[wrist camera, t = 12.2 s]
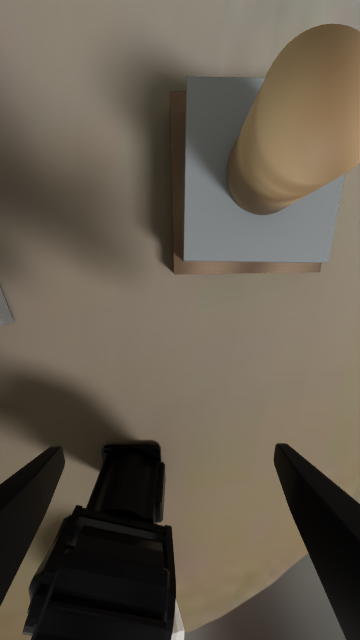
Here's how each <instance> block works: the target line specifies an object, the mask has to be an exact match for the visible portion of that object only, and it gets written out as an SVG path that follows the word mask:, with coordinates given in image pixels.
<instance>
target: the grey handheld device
mask: <svg viewBox="0 0 360 640" xmlns="http://www.w3.org/2000/svg"><path fill="white" fill-rule="evenodd" d="M13 322H14V320H13V317H12V315H11V312H10V310H9V308H8V305H7V303H6V300H5V298H4V295H3V293H2V290H1V288H0V326H3V325H7V324H10V323H13Z"/></svg>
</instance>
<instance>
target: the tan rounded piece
mask: <svg viewBox="0 0 360 640" xmlns="http://www.w3.org/2000/svg"><path fill="white" fill-rule="evenodd" d="M359 162H360V32H359V31H358V30H356V29H354V28H351V27H349V26H345V25H341V24H326V25H320V26H317V27H314V28H311V29H309V30H307V31H305V32H303V33H301V34H300V35H298V36H297V37H295V38H294V39H293V40H292V41H291V42H290V43H288V44H287V45H286V46H285V48H284V49H283V50H282V51H281V52H280V53H279V55H278V56H277V58H276V59H275V60H274V62H273V64H272V66H271V67H270V69H269V71H268V73H267V75H266V78H265V80H264V82H263V84H262V86H261V88H260V90H259V92H258V94H257V97H256V99H255V101H254V103H253V105H252V107H251V109H250V111H249V114H248V116H247V118H246V120H245V122H244V124H243V126H242V128H241V131H240V133H239V135H238V137H237V139H236V141H235V143H234V145H233V147H232V150H231V152H230V154H229V158H228V161H227V167H226V179H227V185H228V188H229V191H230V193H231V196H232V197H233V199H234V200H235V202H236V203H237V204H238V205H239V206H240V207H241V208H243V209H244V210H245V211H248V212H250V213H252V214H256V215H269V214H273V213H276V212H278V211H280V210H282V209H284V208H286V207H287V206H289V205H291V204H293V203H294V202H296V201H298V200H300V199H301V198H303V197H305V196H307V195H308V194H310V193H312V192H314V191H316V190H317V189H319V188H321V187H323V186H324V185H326V184H328V183H330V182H331V181H333V180H335V179H337V178H338V177H340V176H342V175H344V174H345V173H347V172H348V171H350V170H351V169H352V168H354V167H355V166H356V165H357V164H358V163H359Z"/></svg>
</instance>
